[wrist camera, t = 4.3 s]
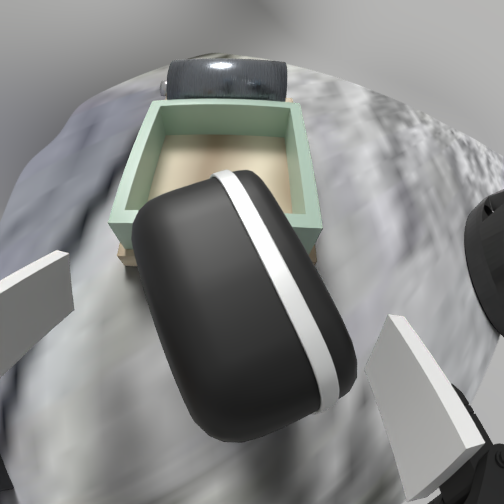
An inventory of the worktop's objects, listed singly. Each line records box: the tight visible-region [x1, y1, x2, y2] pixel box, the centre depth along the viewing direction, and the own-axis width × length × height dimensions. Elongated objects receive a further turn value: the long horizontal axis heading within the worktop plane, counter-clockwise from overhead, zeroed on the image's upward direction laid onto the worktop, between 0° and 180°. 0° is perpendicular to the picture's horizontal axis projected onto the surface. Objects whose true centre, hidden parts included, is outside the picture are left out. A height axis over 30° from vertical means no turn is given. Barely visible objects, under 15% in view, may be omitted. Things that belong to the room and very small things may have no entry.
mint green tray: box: [108, 59, 323, 266], centre depth 19 cm, size 12×17×6 cm
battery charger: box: [131, 170, 357, 442], centre depth 10 cm, size 7×4×11 cm, turn 24°
